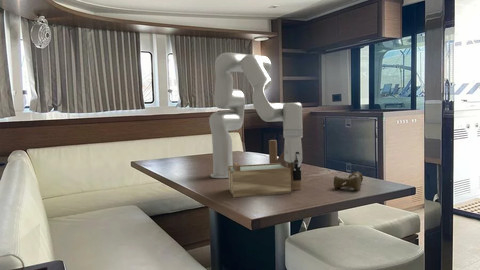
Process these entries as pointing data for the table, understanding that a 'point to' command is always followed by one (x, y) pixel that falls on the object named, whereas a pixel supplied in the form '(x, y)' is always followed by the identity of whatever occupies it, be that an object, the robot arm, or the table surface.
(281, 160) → the wooden block
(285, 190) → the wooden box
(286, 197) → the table surface
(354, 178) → the kendama
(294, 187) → the wooden square column
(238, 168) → the lid
